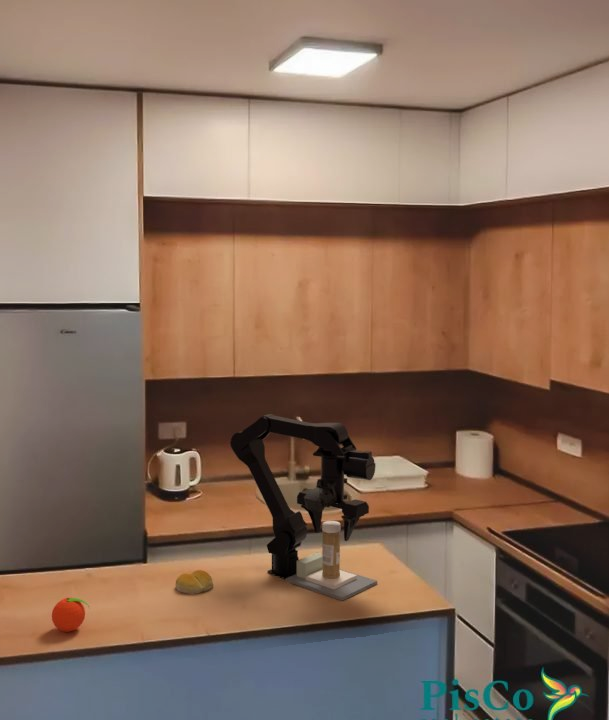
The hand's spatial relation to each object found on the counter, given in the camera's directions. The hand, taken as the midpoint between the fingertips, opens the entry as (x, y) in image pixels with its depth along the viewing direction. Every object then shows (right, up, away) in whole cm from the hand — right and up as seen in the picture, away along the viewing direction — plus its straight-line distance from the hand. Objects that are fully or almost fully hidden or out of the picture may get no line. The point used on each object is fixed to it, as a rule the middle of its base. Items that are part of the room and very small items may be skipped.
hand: (331, 536), depth 200 cm
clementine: (-57, -15, -26) cm, 64 cm away
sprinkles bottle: (0, -10, +1) cm, 10 cm away
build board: (0, -12, +1) cm, 12 cm away
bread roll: (-34, -12, -2) cm, 36 cm away
